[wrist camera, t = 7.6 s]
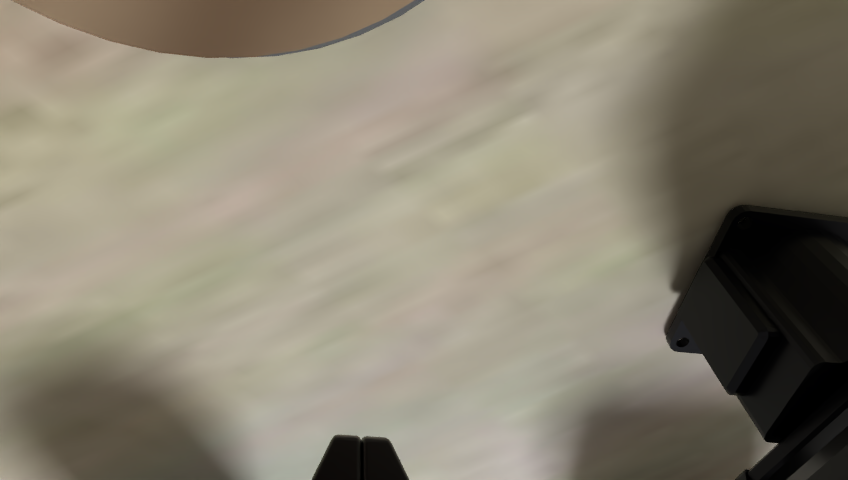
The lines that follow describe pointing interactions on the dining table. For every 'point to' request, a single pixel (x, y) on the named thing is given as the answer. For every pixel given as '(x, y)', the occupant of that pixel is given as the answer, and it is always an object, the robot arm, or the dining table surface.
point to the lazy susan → (217, 23)
